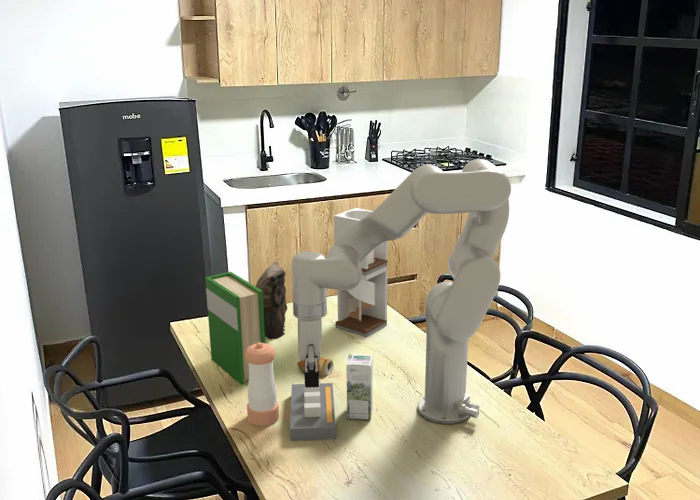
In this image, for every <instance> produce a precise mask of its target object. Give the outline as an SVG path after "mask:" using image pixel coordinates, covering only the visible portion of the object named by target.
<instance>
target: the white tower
mask: <svg viewBox="0 0 700 500" xmlns="http://www.w3.org/2000/svg"><path fill="white" fill-rule="evenodd" d="M372 211H373V210H368V209H364V208H359V207H355V208H352V209H348V210H346V211H343V212H340V213H337V214H334V215H333V245H334V244H335V243H336V242H337V241H338V240H339V239H340V238H341V237H342V236H343V235H344V234H345V233H346V232H347V231H348V230H349V229H350V228H351V227H352V226H353V225H354V224H356V223H357V222H358V221H360V220H361V219H363V218H364V217H365V216H367V215H368V214H369V213H371V212H372ZM388 244H389V241H386V242H384V243H382V244H380V245H379V246H377V247H376V248H375V249H373V250H372V251H371V252H370V253H369V254H368V255H367V256H366V257H365V258H364V259H363V260H362V261H361V262H360V266H361V270H362V278H361V281H360V283H359V284H358V285H357V286H356V287H355V288H353V289H350V290H336V291H337V294H336V295H337V320H336V321H335V325H334V326H335V327H334V328H335V329H336V330H340V331H343V332H347V333H350V334H353V335H356V336H360V337H363V338H369V337H370V336H372V335H373V334H375V333H376V332H378V331H381V330H382V329H384V328H385V327H387V326H388V258H389V257H388V252H389V251H388V248H389V245H388Z"/></svg>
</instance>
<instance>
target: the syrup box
mask: <svg viewBox="0 0 700 500" xmlns="http://www.w3.org/2000/svg"><path fill="white" fill-rule="evenodd" d="M373 358H374V357H373V354H369V353H368V354H365V353H364V354H363V353H361V354H360V353H348V357H347V359H346V419H347V420H360V421H371V420H372V415H373V374H374V373H373V365H374V364H373V363H374V359H373Z"/></svg>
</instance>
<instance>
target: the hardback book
mask: <svg viewBox="0 0 700 500" xmlns="http://www.w3.org/2000/svg"><path fill="white" fill-rule="evenodd" d="M205 291H206V293H205V294H206V304H207V319H208V331H209V343H210V345H209V346H210V360H211V361H212V362H213V363H215V364H216V365H217V366H218V367H219V368H220V369H222V370H223V371H224V372H225V373H226V374H228V376H229V377H231V378H232V379H234V381H235V382H237V383H238V384H239V385H240V386H244V385H246V384H245V381H247V380H248V381H249V362H248V361H247V360H246V358H245V351H246V350H247V348H248V347H249V346H251V345H253V344H257V343H259V342H261V343H265V344H266V337H265V328H264V307H263V291H262V290H260V289H259V288H257V287H256V285H253V284H252V283H251V282H249V281H247V280H245V279H244V278H242V277H241V276H239V275H237V274H235V273H234V272H233V271H228V272H224V273H220V274H213V275H209V276H205Z"/></svg>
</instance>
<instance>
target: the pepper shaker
mask: <svg viewBox="0 0 700 500" xmlns="http://www.w3.org/2000/svg"><path fill="white" fill-rule="evenodd" d="M276 355H277V351H276V349H275V348H274V346H272V345H271V344H269V343H266V342H265V343H261V342H259V343H257V344H253V345H251V346H249V347H248V348H247V350H246V351H245V358H246V360H247V361H248V362H249V379H248V385H247V398H248V399H247V401H248V403H247V405H246V407H247V408H246V410H247V421H248V423H249V424H251V425H253V426H257V427H267V426H271V425H274V424H275V423H277V422H278V421H279V418H280V408H279V407H280V405H279V401H278V392H277V391H278V390H277V386H276V381H275V376H274V363H273V361H274V360H275V358H276Z"/></svg>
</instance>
